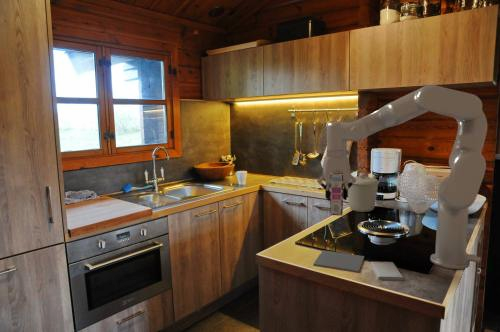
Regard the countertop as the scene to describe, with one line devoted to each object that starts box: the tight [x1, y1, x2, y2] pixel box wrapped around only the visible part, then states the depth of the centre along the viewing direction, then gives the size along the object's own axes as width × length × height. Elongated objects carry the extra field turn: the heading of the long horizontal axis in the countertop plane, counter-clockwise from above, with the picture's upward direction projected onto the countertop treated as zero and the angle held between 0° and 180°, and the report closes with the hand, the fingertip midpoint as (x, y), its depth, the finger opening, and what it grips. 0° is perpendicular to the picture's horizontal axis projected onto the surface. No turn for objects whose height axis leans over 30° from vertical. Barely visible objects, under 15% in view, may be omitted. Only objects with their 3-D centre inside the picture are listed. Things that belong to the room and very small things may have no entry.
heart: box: [396, 170, 442, 215], centre depth 194 cm, size 28×16×22 cm, turn 10°
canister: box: [347, 172, 380, 213], centre depth 204 cm, size 18×18×21 cm
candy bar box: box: [329, 172, 344, 216], centre depth 143 cm, size 11×5×16 cm, turn 167°
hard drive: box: [369, 261, 404, 281], centre depth 127 cm, size 2×8×12 cm
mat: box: [313, 250, 365, 273], centre depth 136 cm, size 16×14×1 cm
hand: (336, 199), depth 144 cm, fingers closed on candy bar box, 5 cm apart
